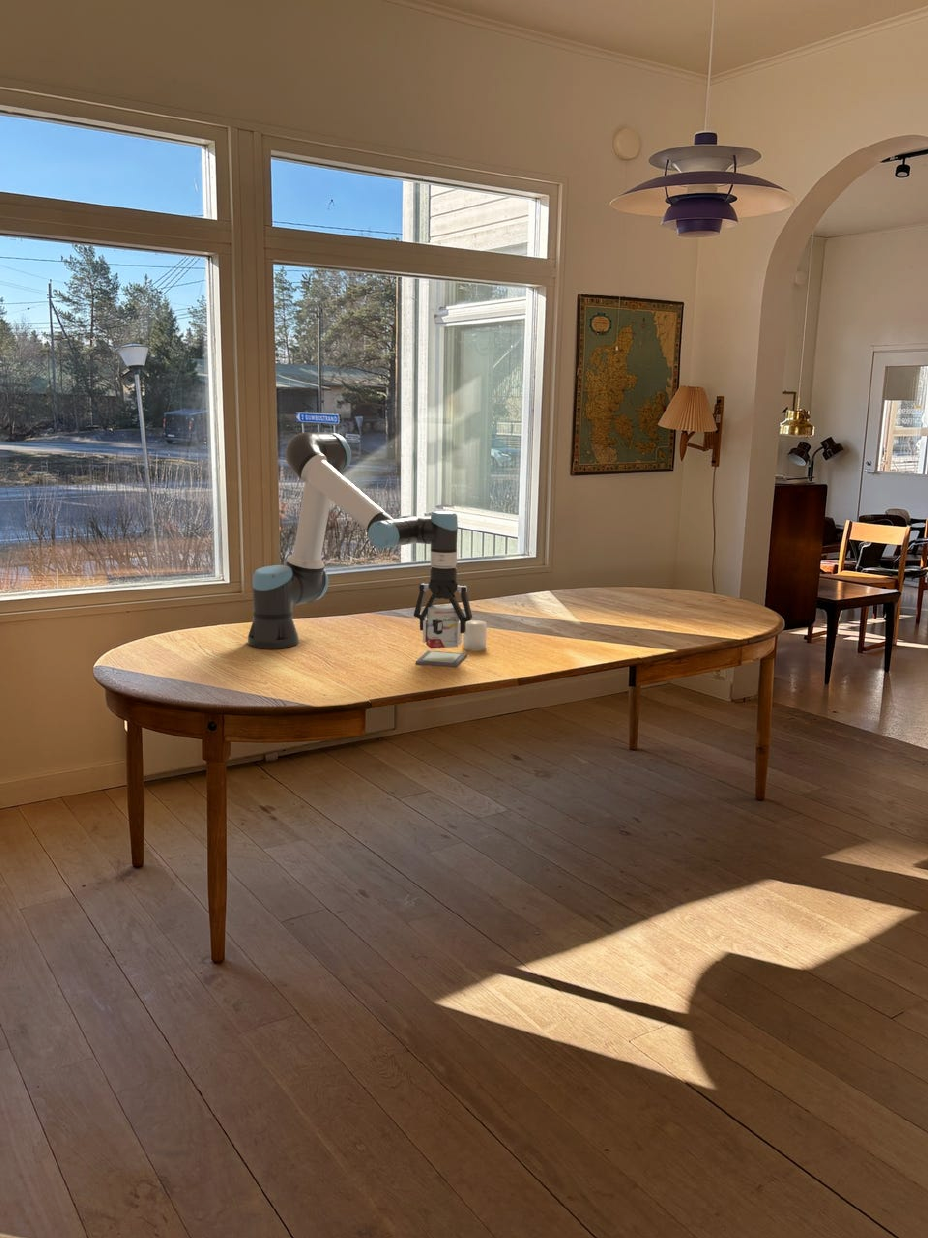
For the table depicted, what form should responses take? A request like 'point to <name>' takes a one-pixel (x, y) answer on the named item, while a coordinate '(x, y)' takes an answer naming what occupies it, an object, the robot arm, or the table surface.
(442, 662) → the e-reader
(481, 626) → the white ceramic tumbler
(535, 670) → the table surface
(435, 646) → the ink box
